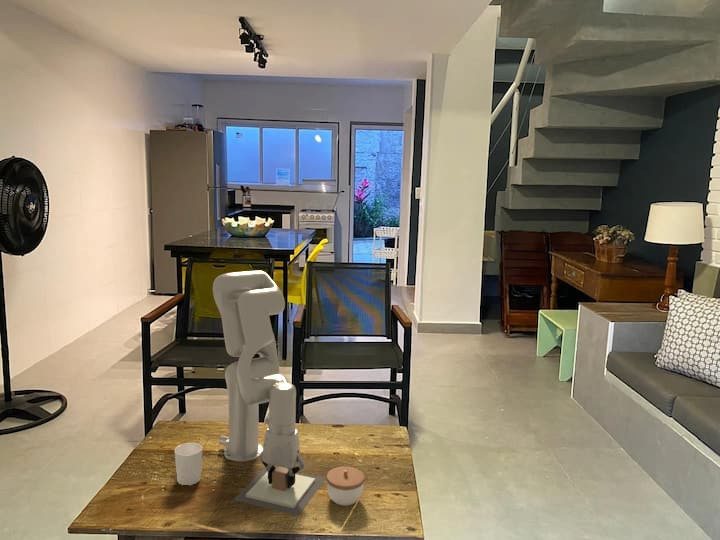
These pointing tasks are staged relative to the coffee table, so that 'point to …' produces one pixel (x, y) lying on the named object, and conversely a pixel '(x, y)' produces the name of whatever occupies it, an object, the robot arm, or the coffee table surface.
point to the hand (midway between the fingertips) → (281, 483)
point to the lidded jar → (345, 485)
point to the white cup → (188, 463)
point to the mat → (295, 511)
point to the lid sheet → (281, 495)
